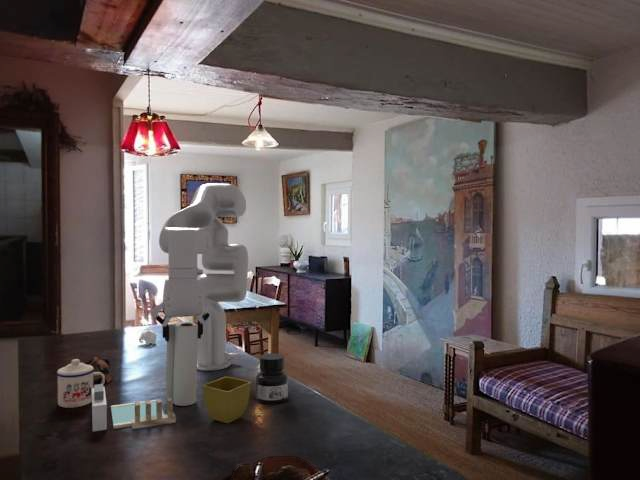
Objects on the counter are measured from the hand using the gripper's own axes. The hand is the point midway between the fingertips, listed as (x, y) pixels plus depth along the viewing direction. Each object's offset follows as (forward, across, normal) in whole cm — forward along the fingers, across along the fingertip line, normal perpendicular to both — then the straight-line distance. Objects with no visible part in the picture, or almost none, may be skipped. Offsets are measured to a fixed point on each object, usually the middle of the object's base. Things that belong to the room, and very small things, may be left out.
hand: (182, 338), depth 136 cm
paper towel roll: (+18, 0, 0) cm, 18 cm away
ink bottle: (+18, -23, +7) cm, 30 cm away
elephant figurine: (+18, +1, -73) cm, 75 cm away
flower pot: (+18, -8, +16) cm, 25 cm away
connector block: (+18, +21, +4) cm, 28 cm away
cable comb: (+18, +9, +12) cm, 23 cm away
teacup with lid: (+18, +25, -12) cm, 33 cm away
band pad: (+18, +12, +4) cm, 22 cm away
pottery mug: (+18, +21, -31) cm, 41 cm away
